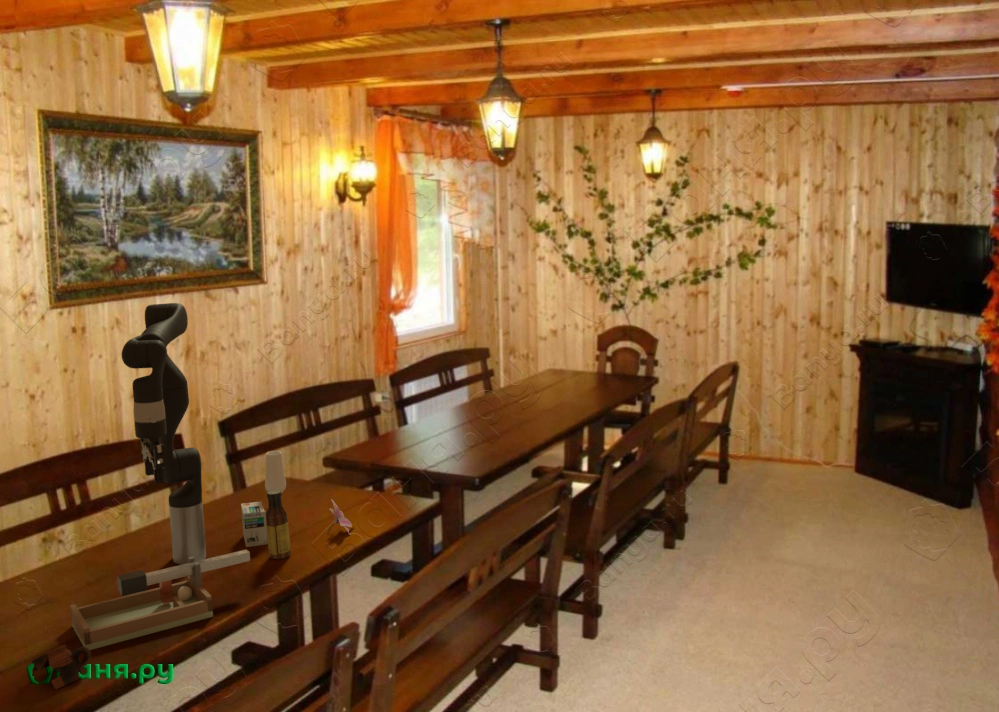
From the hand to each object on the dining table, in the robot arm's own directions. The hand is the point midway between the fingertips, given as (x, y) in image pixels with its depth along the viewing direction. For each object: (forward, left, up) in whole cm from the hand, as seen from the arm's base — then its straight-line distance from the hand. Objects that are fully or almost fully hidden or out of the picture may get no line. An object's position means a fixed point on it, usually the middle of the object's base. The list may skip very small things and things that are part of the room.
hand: (154, 478), depth 238 cm
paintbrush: (+7, +4, -31) cm, 32 cm away
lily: (-17, +59, -33) cm, 70 cm away
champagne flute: (-36, +46, -33) cm, 67 cm away
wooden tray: (+10, -8, -33) cm, 35 cm away
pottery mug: (+28, -30, -34) cm, 53 cm away
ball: (+7, +3, -30) cm, 31 cm away
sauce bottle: (-10, +36, -33) cm, 50 cm away
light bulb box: (-27, +35, -33) cm, 55 cm away
